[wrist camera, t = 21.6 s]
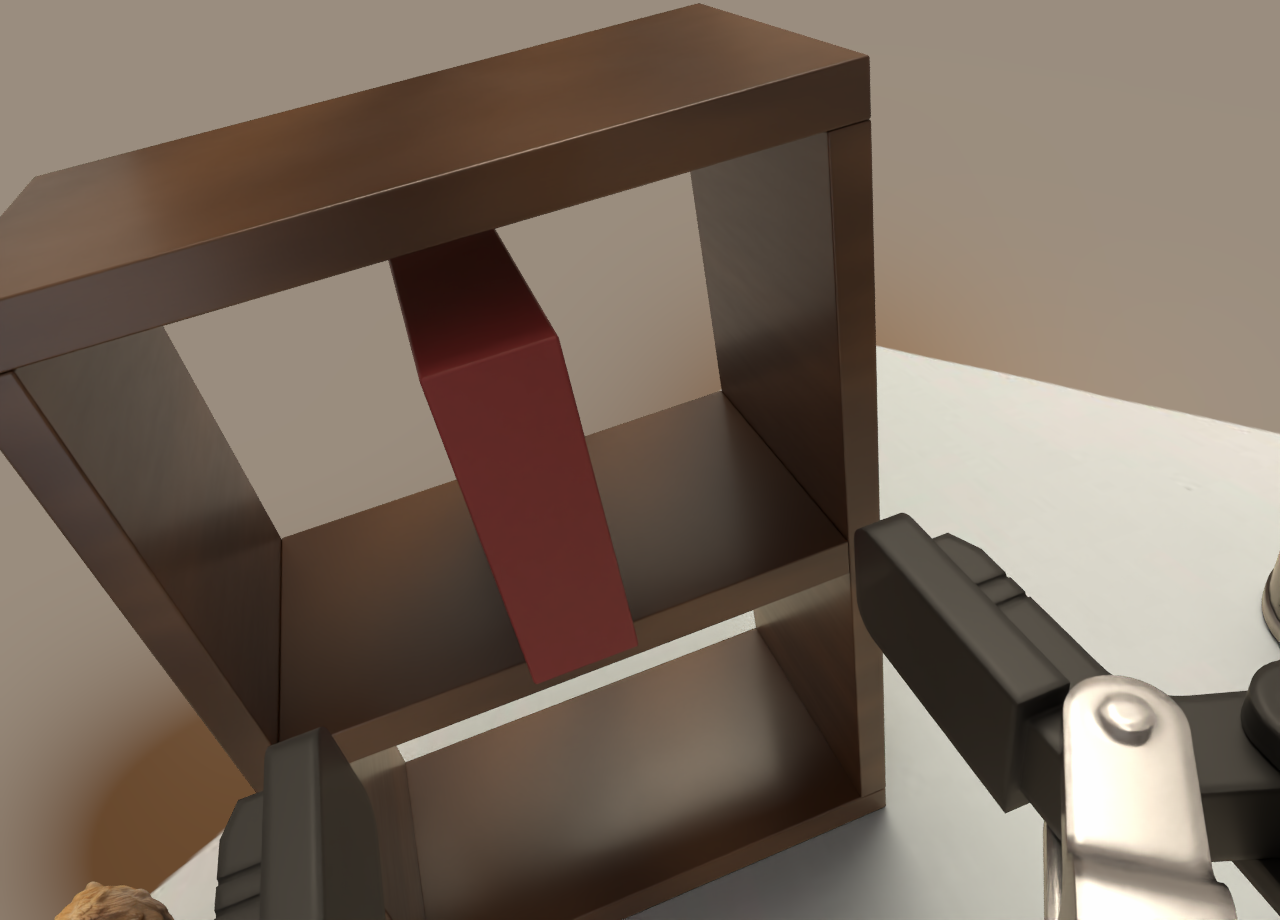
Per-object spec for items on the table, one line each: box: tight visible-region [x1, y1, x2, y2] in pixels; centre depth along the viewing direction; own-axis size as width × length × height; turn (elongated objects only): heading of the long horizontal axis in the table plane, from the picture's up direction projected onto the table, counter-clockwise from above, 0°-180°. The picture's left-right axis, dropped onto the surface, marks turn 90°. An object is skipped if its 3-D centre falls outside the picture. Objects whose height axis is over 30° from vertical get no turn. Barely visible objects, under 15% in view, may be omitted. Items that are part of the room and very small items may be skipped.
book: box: [388, 229, 638, 684], centre depth 28 cm, size 3×9×11 cm, turn 19°
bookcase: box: [0, 3, 886, 920], centre depth 33 cm, size 21×11×32 cm, turn 109°
